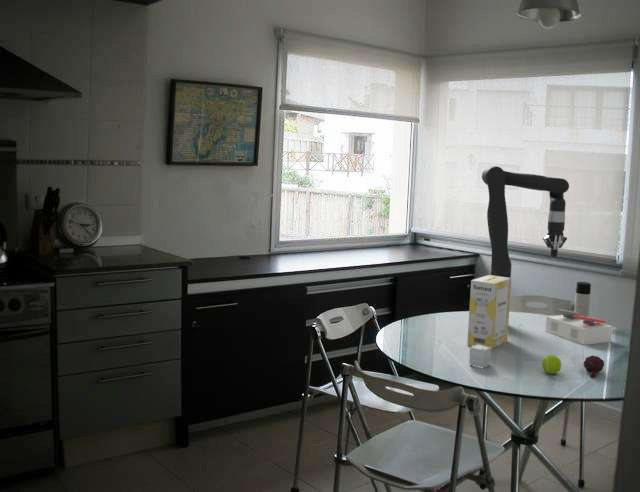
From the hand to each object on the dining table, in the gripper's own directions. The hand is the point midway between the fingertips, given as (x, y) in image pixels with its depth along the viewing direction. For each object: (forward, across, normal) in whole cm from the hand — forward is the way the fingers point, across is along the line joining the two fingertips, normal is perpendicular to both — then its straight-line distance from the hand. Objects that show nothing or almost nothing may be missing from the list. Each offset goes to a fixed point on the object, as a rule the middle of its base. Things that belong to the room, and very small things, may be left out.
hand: (553, 256), depth 342 cm
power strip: (+33, +2, +22) cm, 39 cm away
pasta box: (+33, +49, +18) cm, 62 cm away
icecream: (+33, +36, +66) cm, 82 cm away
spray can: (+33, -18, +2) cm, 38 cm away
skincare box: (+33, +72, +44) cm, 91 cm away
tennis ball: (+33, +52, +61) cm, 87 cm away
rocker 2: (+24, +2, +28) cm, 36 cm away
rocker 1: (+24, +2, +15) cm, 28 cm away
